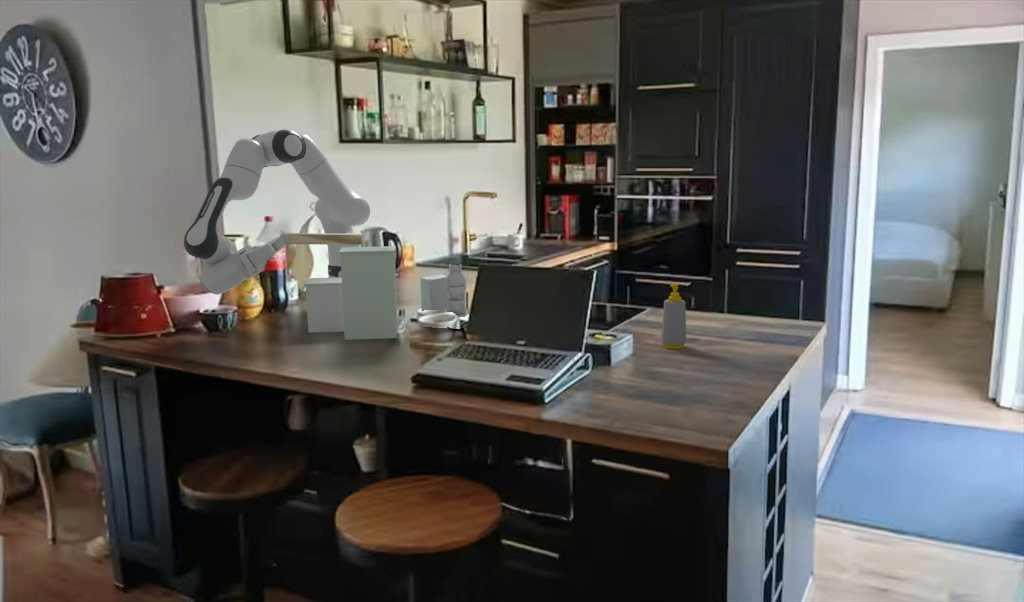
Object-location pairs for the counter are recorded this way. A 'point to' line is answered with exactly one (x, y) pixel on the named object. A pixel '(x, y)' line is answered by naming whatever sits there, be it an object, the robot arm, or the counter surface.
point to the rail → (323, 238)
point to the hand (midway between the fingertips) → (290, 237)
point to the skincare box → (433, 293)
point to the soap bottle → (674, 321)
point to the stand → (369, 292)
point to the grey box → (324, 305)
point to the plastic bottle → (456, 290)
